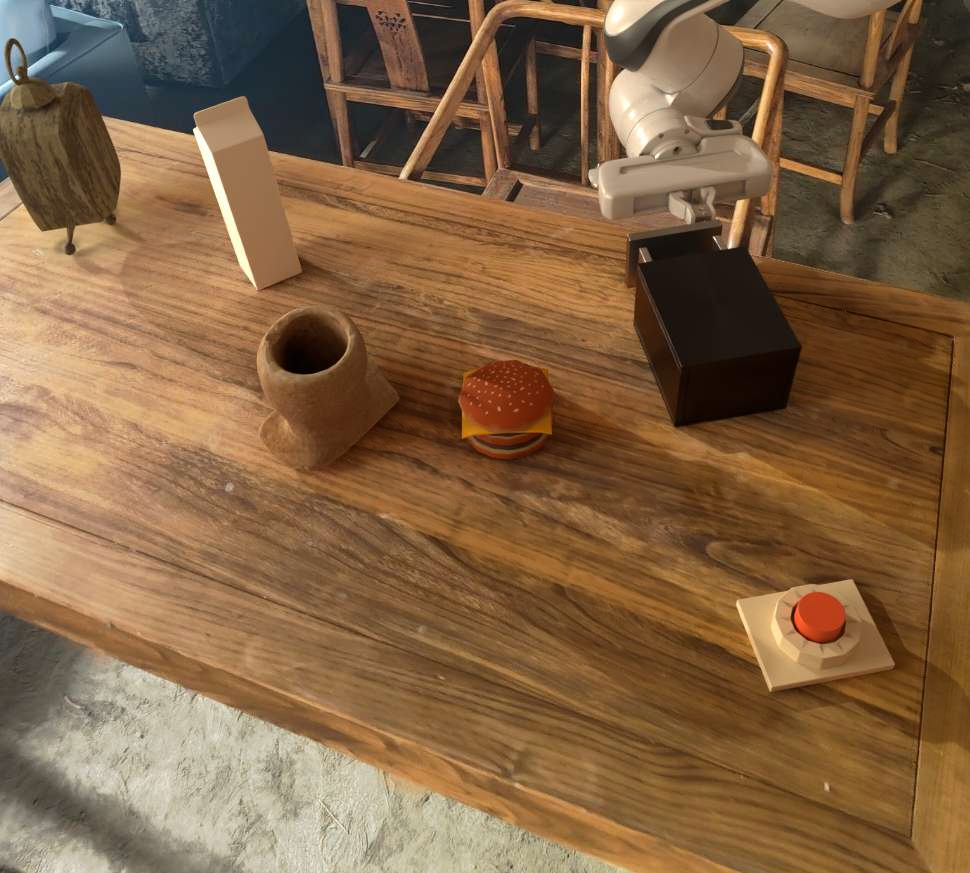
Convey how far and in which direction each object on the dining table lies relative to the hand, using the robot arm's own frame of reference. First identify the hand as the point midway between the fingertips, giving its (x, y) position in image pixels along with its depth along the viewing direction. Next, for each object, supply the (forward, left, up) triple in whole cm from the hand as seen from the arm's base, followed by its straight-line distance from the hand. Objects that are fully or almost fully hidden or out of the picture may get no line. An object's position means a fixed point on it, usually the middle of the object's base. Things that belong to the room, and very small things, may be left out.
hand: (703, 220), depth 104 cm
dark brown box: (+4, +16, -6) cm, 18 cm away
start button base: (+6, +49, -6) cm, 50 cm away
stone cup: (+43, +16, -7) cm, 46 cm away
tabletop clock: (+73, -27, -7) cm, 78 cm away
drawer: (+4, +9, -6) cm, 11 cm away
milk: (+50, -12, -7) cm, 52 cm away
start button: (+6, +49, -3) cm, 49 cm away
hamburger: (+26, +20, -7) cm, 33 cm away
